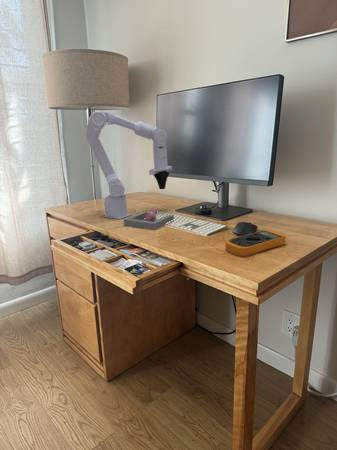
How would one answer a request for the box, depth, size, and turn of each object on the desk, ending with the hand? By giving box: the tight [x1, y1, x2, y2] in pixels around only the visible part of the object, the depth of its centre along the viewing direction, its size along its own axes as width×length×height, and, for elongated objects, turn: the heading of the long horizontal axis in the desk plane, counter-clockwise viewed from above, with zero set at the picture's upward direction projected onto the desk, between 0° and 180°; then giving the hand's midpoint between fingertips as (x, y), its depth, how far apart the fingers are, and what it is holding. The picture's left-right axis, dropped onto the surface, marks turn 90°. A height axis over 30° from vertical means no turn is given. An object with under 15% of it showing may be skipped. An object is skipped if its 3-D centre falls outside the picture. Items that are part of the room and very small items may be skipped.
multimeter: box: [225, 228, 287, 257], centre depth 94 cm, size 9×18×3 cm, turn 119°
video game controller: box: [144, 207, 158, 222], centre depth 125 cm, size 10×5×7 cm, turn 176°
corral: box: [123, 211, 175, 231], centre depth 124 cm, size 15×13×2 cm
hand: (162, 188), depth 138 cm, fingers closed
